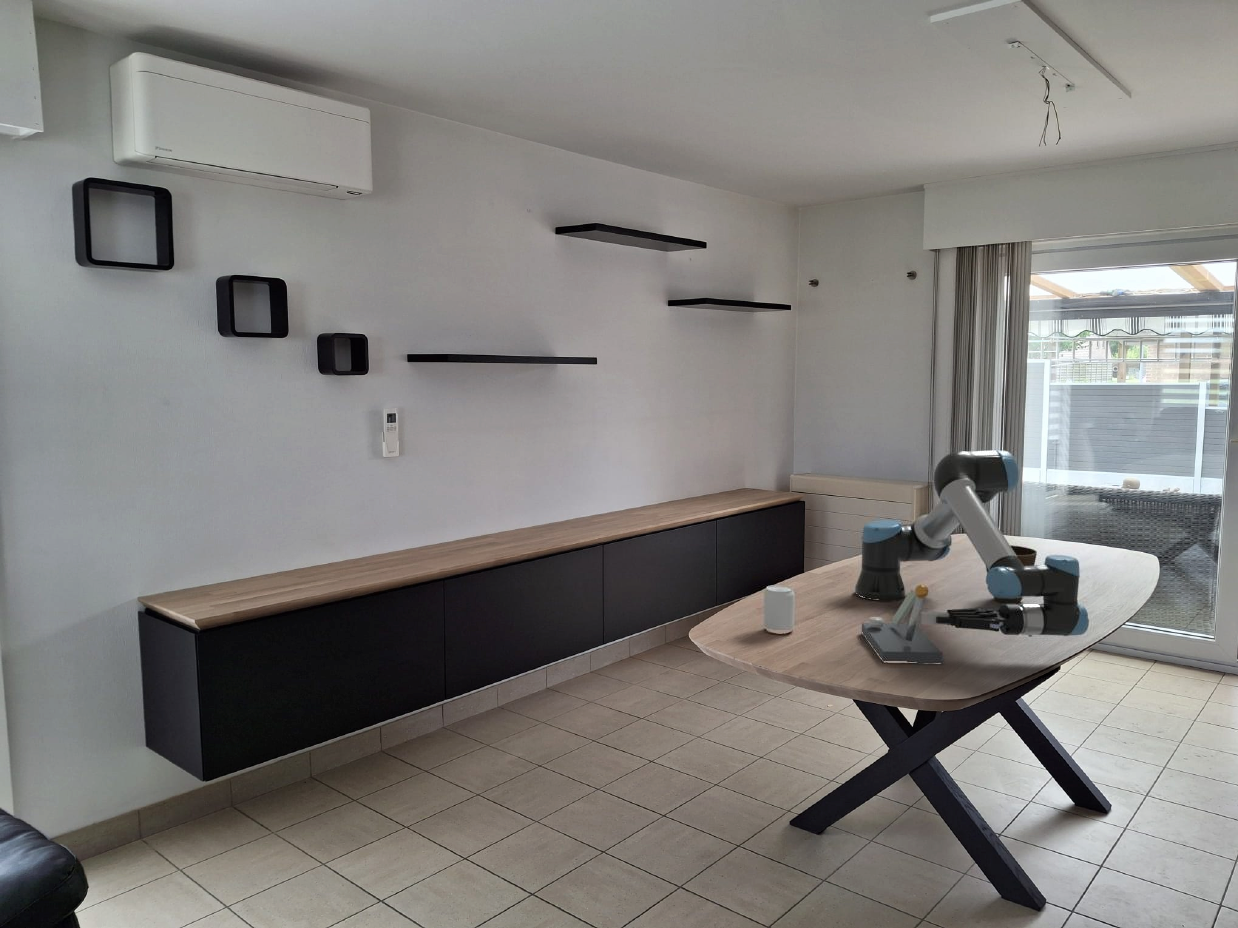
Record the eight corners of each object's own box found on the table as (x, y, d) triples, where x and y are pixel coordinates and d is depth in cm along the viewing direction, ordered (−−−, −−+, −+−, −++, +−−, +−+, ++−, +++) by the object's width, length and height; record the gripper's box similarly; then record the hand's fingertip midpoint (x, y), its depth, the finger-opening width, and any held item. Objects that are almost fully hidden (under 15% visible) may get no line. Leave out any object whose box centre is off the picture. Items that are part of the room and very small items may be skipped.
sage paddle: (891, 620, 233) (911, 588, 232) (894, 622, 233) (914, 590, 232) (895, 625, 228) (916, 592, 227) (898, 627, 228) (919, 594, 227)
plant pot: (1040, 608, 261) (1042, 555, 259) (986, 605, 264) (989, 553, 262) (1027, 595, 275) (1029, 545, 274) (977, 593, 278) (979, 543, 277)
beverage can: (789, 626, 243) (790, 584, 241) (796, 635, 235) (797, 591, 233) (761, 626, 242) (761, 584, 241) (766, 635, 234) (767, 592, 233)
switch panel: (861, 633, 237) (861, 622, 236) (914, 634, 236) (914, 623, 235) (883, 663, 213) (883, 651, 212) (941, 664, 212) (942, 652, 212)
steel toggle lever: (900, 636, 218) (915, 582, 217) (912, 639, 218) (927, 585, 217) (903, 640, 215) (918, 585, 214) (916, 643, 215) (931, 588, 213)
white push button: (867, 623, 233) (867, 616, 233) (880, 623, 233) (881, 616, 232) (870, 627, 229) (870, 620, 229) (884, 627, 229) (884, 620, 229)
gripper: (1029, 642, 208) (928, 641, 209) (1007, 626, 221) (913, 625, 222) (1031, 611, 207) (930, 610, 208) (1009, 597, 220) (914, 596, 221)
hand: (921, 618), depth 215 cm, fingers closed
